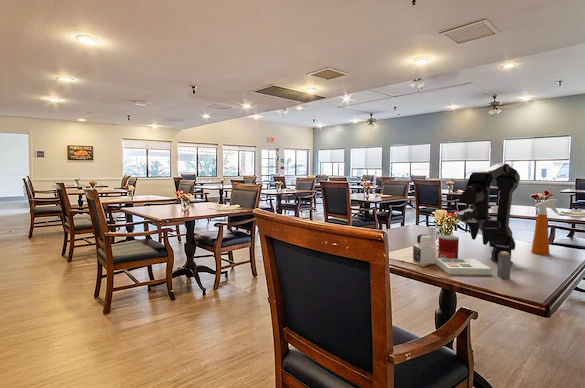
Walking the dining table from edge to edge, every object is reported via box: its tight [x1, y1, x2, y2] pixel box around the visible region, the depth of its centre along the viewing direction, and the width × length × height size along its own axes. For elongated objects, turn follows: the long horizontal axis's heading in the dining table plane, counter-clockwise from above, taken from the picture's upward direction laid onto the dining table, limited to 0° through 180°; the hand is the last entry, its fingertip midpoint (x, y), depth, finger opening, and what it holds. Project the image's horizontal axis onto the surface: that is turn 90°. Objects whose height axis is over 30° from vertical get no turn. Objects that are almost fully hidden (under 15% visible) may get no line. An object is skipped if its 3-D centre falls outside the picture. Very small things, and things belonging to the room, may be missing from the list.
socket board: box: [435, 257, 492, 276], centre depth 138 cm, size 16×14×3 cm
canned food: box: [437, 234, 460, 259], centre depth 150 cm, size 8×8×11 cm
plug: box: [496, 251, 512, 280], centre depth 127 cm, size 3×3×10 cm
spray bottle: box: [531, 198, 561, 256], centre depth 161 cm, size 7×11×26 cm, turn 72°
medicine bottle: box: [412, 233, 437, 265], centre depth 148 cm, size 7×7×12 cm
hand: (479, 242), depth 134 cm, fingers open, 9 cm apart
